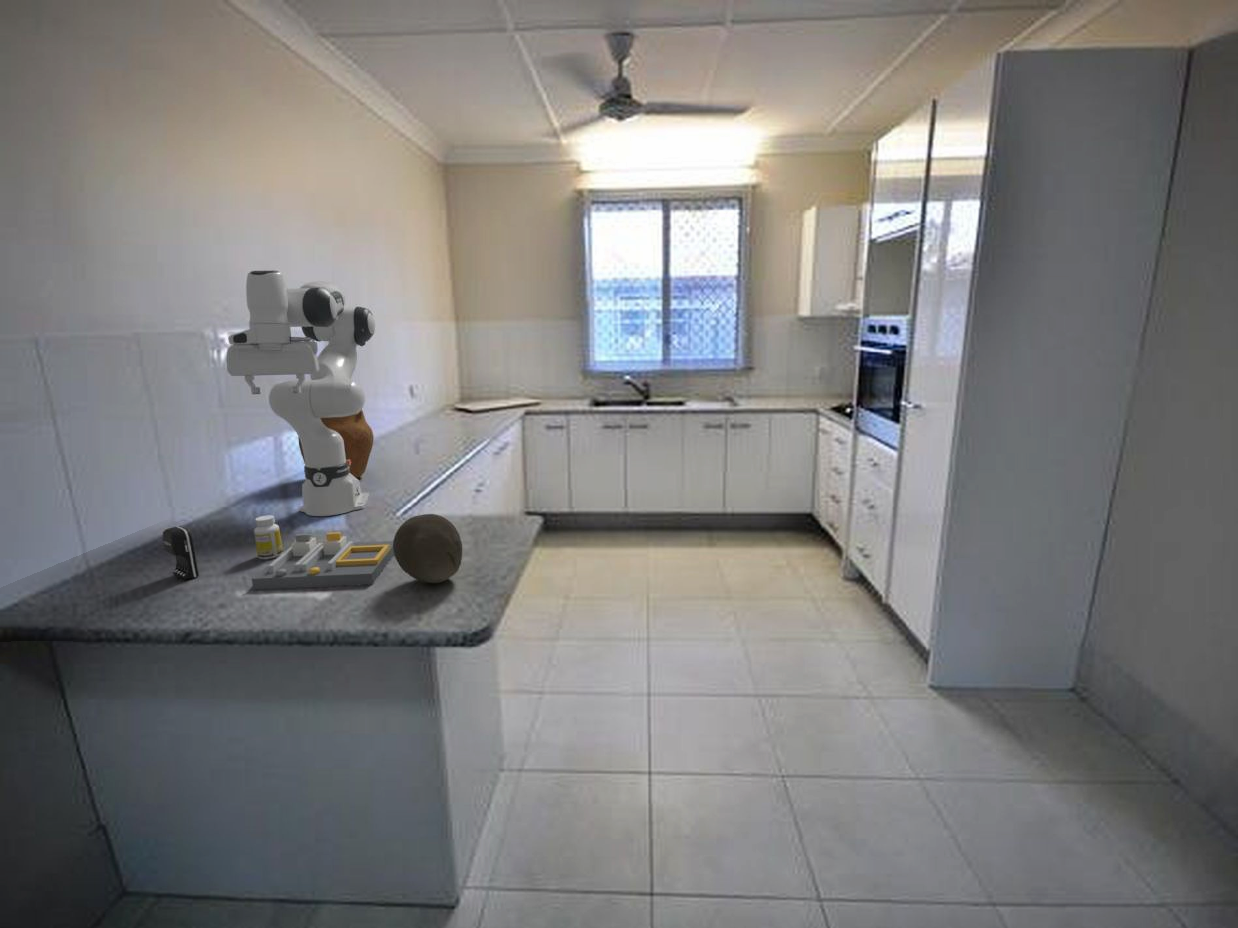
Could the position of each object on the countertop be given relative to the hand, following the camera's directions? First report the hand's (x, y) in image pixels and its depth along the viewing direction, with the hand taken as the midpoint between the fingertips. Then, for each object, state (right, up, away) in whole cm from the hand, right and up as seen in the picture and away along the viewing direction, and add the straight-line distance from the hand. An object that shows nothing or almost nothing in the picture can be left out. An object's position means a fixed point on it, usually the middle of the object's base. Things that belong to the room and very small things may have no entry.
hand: (276, 393), depth 155 cm
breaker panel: (+19, -42, -11) cm, 47 cm away
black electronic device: (-13, -43, -14) cm, 47 cm away
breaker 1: (+11, -38, -9) cm, 41 cm away
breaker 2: (+18, -38, -8) cm, 43 cm away
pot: (-14, -23, +68) cm, 74 cm away
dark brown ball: (+44, -43, -19) cm, 65 cm away
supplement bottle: (0, -40, -3) cm, 40 cm away
